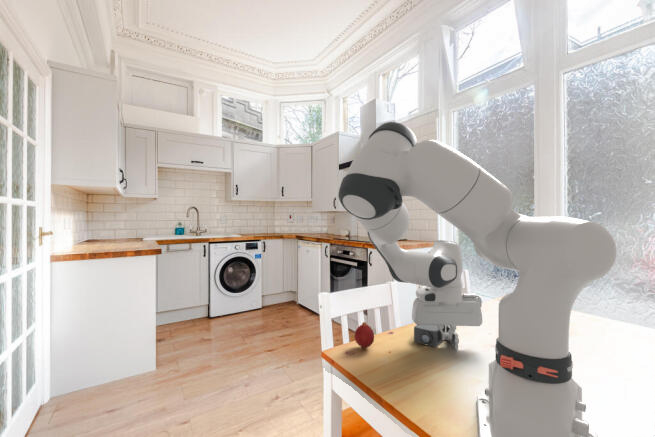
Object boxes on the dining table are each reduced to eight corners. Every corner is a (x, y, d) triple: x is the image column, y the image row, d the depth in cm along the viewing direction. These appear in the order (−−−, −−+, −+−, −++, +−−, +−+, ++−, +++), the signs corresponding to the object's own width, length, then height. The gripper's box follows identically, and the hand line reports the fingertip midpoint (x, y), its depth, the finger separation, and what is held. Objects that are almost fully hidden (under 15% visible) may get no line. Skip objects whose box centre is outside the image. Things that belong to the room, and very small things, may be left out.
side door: (459, 349, 87) (459, 335, 87) (455, 349, 87) (455, 335, 87) (449, 336, 96) (449, 323, 96) (445, 336, 96) (445, 323, 96)
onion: (355, 343, 90) (355, 317, 90) (374, 345, 89) (374, 319, 89) (353, 352, 85) (353, 324, 85) (373, 354, 83) (373, 326, 83)
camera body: (435, 349, 87) (435, 331, 87) (412, 343, 91) (412, 326, 91) (445, 336, 96) (445, 321, 96) (424, 331, 100) (424, 316, 100)
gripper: (476, 291, 92) (476, 336, 92) (410, 290, 93) (410, 334, 93) (486, 297, 85) (486, 344, 85) (415, 295, 86) (415, 342, 86)
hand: (446, 339), depth 89 cm, fingers closed
